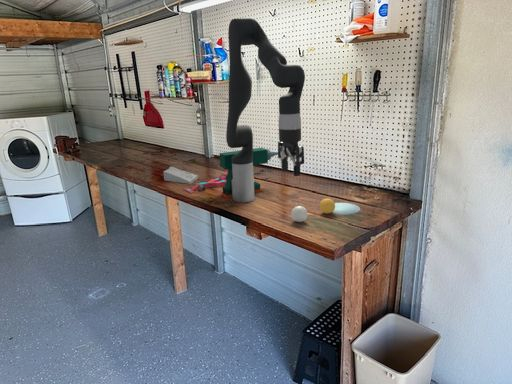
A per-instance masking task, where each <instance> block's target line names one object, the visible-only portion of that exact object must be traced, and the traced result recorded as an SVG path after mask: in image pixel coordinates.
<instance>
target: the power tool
mask: <svg viewBox="0 0 512 384" xmlns="http://www.w3.org/2000/svg"><path fill="white" fill-rule="evenodd" d="M241 150H242V149H241ZM241 150H233V151H225V152H219V153H218V154H219V165H220V168H222V169H224V170H227V172H228V173H227V179H226V185H225V186H222V187H221V189H222V192H221V195H222V197H224V198H225V199H228V198H233V195H232V179H233V172H232V156H234V155H235V154H237V153H239V152H240V151H241ZM274 156H278V151H271V150H270V149H268V148H264V147H257V148H253V166H258V165H265V164H268V163H269V161H270V160H271V159H272V157H274ZM261 192H263V189H262V188H261V183H259V182H258V181H255V180H254V194H255V193H261Z"/></svg>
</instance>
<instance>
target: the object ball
mask: <svg viewBox="0 0 512 384" xmlns="http://www.w3.org/2000/svg"><path fill="white" fill-rule="evenodd" d="M335 203H336V202H334V200H333V199H331V198H328V197H327V198H324V199H322V200H321V201H320V203H319V209H320V211H321V212H322V213H323V214H327V215H328V214H332V213H331V212H333V211H334V209H335Z"/></svg>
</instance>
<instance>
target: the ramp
mask: <svg viewBox="0 0 512 384" xmlns="http://www.w3.org/2000/svg"><path fill="white" fill-rule="evenodd" d="M198 179H199V175H198V174H195V173H192V172H188V171H185V170H181V169H179V168H177V167H174V166H169V168H168V169H165V170H164V171H163V180H164V181H167V182H174V183H179V184H186V185H188V184H189V185H191V184H192V183H195V181H197V180H198Z"/></svg>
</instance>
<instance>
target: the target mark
mask: <svg viewBox="0 0 512 384" xmlns="http://www.w3.org/2000/svg"><path fill="white" fill-rule="evenodd" d="M334 203H335V209H334V211H333V212H331V213H330V214H332V215H340V216H348V215H349V216H350V215H354V214H357V213H359V212H360V211H361V208H360V206H358V205H357V204H354V203H349V202H334Z"/></svg>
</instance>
